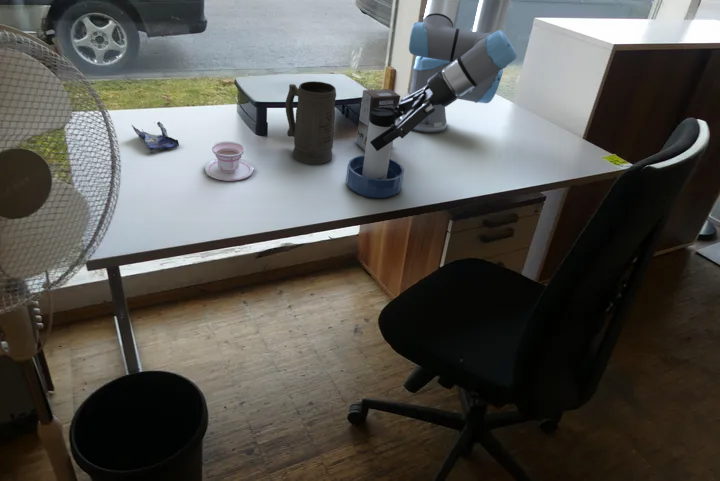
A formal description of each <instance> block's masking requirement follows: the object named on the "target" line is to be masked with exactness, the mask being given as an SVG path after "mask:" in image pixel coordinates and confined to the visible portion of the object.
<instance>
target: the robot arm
mask: <svg viewBox="0 0 720 481" xmlns="http://www.w3.org/2000/svg"><path fill="white" fill-rule="evenodd" d="M511 1H512V0H478V4H477V9H476V13H475V17H474V23H473V28H472V30H466V29H460V28H455V21H456V18H457V12H458V8H459V3H460V0H427V3H426V7H425V11H424V16H423V20H422V21H420V22H419V21H416V22H414V23H413V24H412V27H411V31H410V36H409V42H408V51H409V53H410V54H411V55H413V56H416V57H415V61H414V64H413V68H412V70H413V73H412V76H411V77H412V78H411V83H410V88H409V94H408V95H407V96H404V97H402V98H400V101H399V103H398V107H397V106H395V107H394V108H393V109H395V110H398V115H396V119H395V120H396V121H397V120H398V119H399V121H398V122H397V123H396V126H395V124H392V125H391V127H390V128H389V129H388V130H386V131H385V132H383V133H382V134H380V135H379V136H377V137H376V138H375V139H373V140H372V141H370V143H371V144H372V146H373V147H374V148H375V149H376V151H378V150H380V149H381V148H383V147H384V146H386V145H387V144H389V143H390V142H392V141H393V142H394V141H395V140H397V139H398V138H400V139H404V138H405V137H406V136H407V135H408V134H410V133H411V131H415V132H421V133H425V134H426V133H427V134H428V133H429V134H433V133H440V132H443V131H444V130H445V129H446V127H447V115H446V113H447V112H446V108H447V107H448V106H450V105H451V104H452V103H454V102H456V101H457V100H461V101H468V102H472V103H476V104H477V103H478V104H479V103H480V104H489V103H490V102H492V101H493V99H494V97H495V95H496V93H497V91H498V89H499V86H500V83H501V79H502V77H503V74H504V73H503V72H504V69H505V68H507V67H508V66H509V65H510V64H511V63H513V62H514V61H515V60H516V59H517V57H518V54H517V51H516V49H515V48H514V46H513V44H512V42H511V41H510V39H509V38H508V36H507V35H506V34H505V32H504V28H505V26H506V21H507V17H508V13H509V9H510V5H511Z"/></svg>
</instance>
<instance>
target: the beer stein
mask: <svg viewBox="0 0 720 481" xmlns="http://www.w3.org/2000/svg"><path fill="white" fill-rule="evenodd" d="M295 97H297V105H296V106H297V107H296V109H295V111H294V100H295ZM285 99H286V100H285V114H286V118H287V119H286V120H287V123H288V130H287V132H286V133H287V134H286V135H287V136H288V137H293V142H294V143H293V145H294V148H293V152H292V154H293V155H292V156H293V157H294V158H295V160H297V161H299V162H301V163H304V164H308V165H323V164H326V163H329V162H330V161H331V160H332V158H333V151H332V150H333V149H334V148H333V147H334V137H335V122H336V110H335V108H336V104H335V102H336V99H337V90H336V87H335V86H334V85H333V84H331V83H328V82H323V81H315V80H314V81H312V80H311V81H304V82H302V83H300V84H299V86H297V85H296V84H294V83H290V84H289V85H288V92H287V96H286V98H285ZM294 112H295V113H294Z"/></svg>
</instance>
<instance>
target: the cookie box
mask: <svg viewBox="0 0 720 481" xmlns="http://www.w3.org/2000/svg"><path fill="white" fill-rule="evenodd" d="M400 100H401V95H400V94H399V93H397V92H395V91H393V90H392V89H391V88H382V89H363V90H362V96H361V102H360V103H361V105H360V111H359V119H358V125H357V126H358V128H357V134H356V141H355V142H356V144H357V145H358V146H359V147H360V148H361V149H363V151H365V149H366V142H367V134H368V126H369V120H370V113H371V111H372V110H373V109H374V108H378V107H389V108H394V107H395V106H397V107H398V103H400ZM396 125H397V120H395V126H396ZM393 145H394V140H393V141H392V146H391V149H392V148H393Z"/></svg>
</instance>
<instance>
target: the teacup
mask: <svg viewBox="0 0 720 481" xmlns="http://www.w3.org/2000/svg"><path fill="white" fill-rule="evenodd" d="M211 151H212V153H213V154H214V155H215V158H216V159H214V160H211V161H209V162H208V163H206V165H205V167H204V172H205V173H206V174H207V175H206V176H209V177H211V178H212V179H214V180H218V181H219V180H220V181H225V182H235V181H242V180H244V179H247V178H249V177H251V176H252V175H253V173H254V166H253V165H252V164H251V163H249V162H248V161H246V160H243V159H241V158H242V155H244V153H245V147H244V145H242V144H241V143H238V142H237V141H231V140H222V141H218V142H215V143H214V144H213V145H212V148H211Z"/></svg>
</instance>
